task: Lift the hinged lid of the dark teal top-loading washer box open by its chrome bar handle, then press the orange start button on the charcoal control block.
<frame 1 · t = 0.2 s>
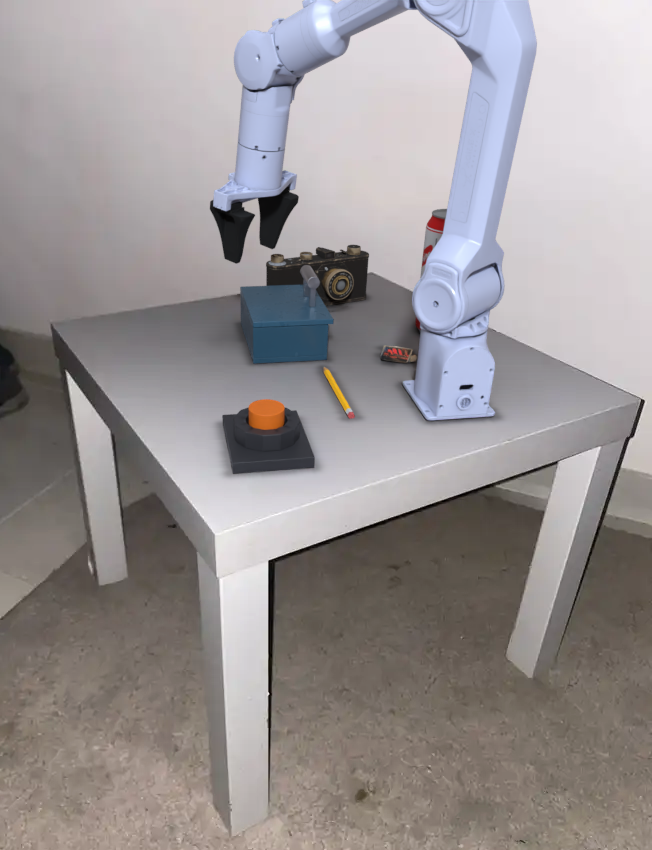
hand: (250, 253, 100), 10 cm above the table, tool pointing down, fingers open, 7 cm apart
start button: (266, 414, 77), point 3 cm above the table, slide at 0.1 cm
pencil: (336, 394, 90), on the table
matchbox: (398, 357, 99), on the table
camera: (320, 306, 115), on the table
beer can: (436, 332, 107), on the table
washer lid: (284, 289, 99), point 7 cm above the table, hinge at 0.0°
washer: (281, 341, 103), on the table
control block: (266, 445, 79), on the table
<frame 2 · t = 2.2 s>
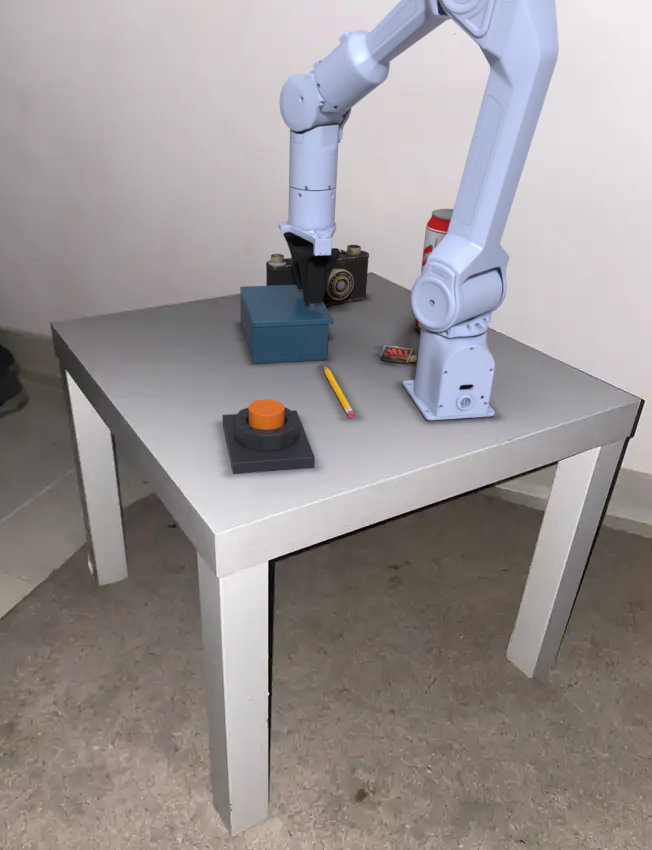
hand: (309, 295, 100), 6 cm above the table, tool pointing down, fingers closed on washer lid, 5 cm apart
washer lid: (284, 289, 99), point 7 cm above the table, hinge at 0.0°, touching gripper
everything else where it was.
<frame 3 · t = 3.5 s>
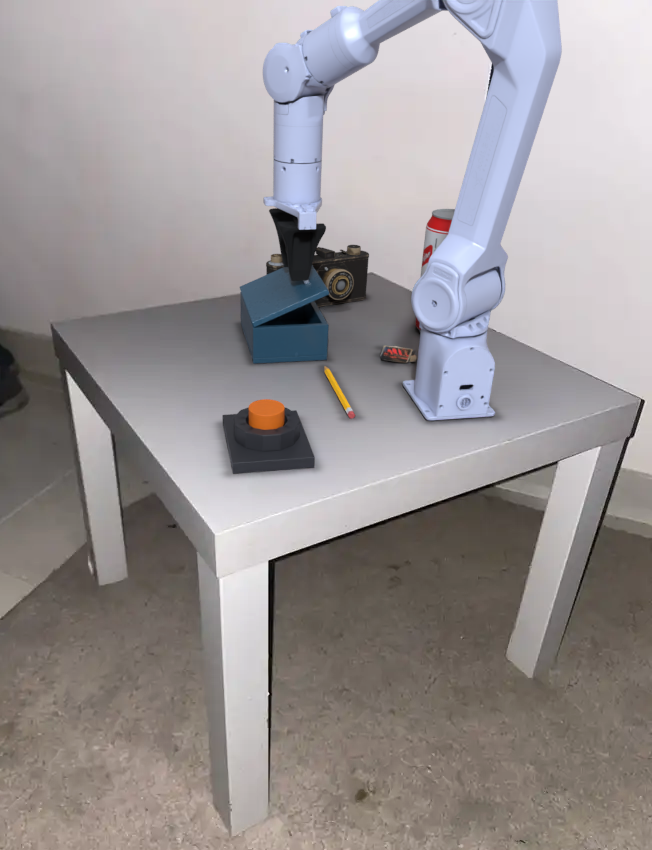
hand: (295, 272, 98), 9 cm above the table, tool pointing down, fingers closed on washer lid, 5 cm apart
washer lid: (276, 276, 98), point 9 cm above the table, hinge at 22.6°, touching gripper
everything else where it was.
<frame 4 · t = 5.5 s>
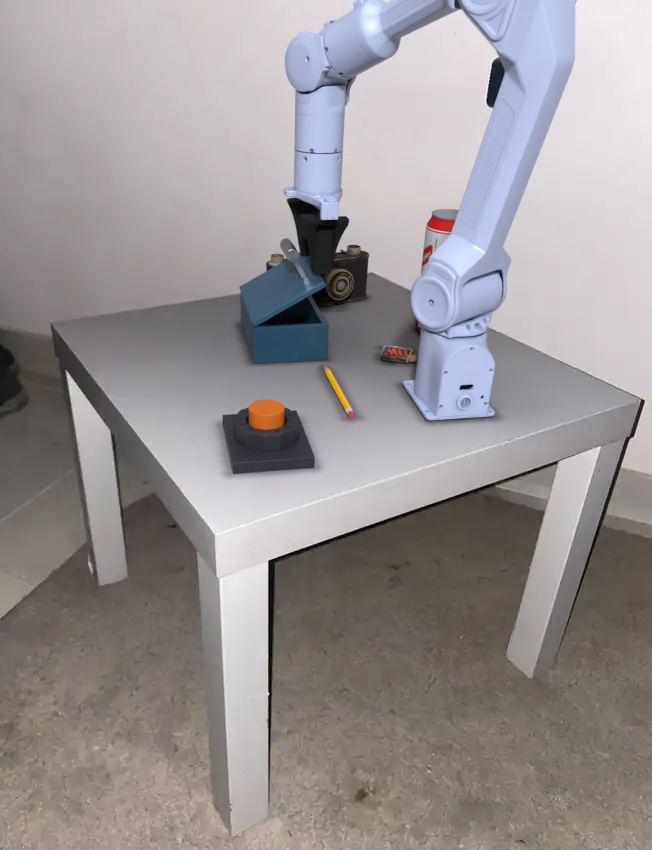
hand: (314, 264, 98), 10 cm above the table, tool pointing down, fingers open, 7 cm apart
washer lid: (272, 273, 98), point 9 cm above the table, hinge at 28.7°
everything else where it was.
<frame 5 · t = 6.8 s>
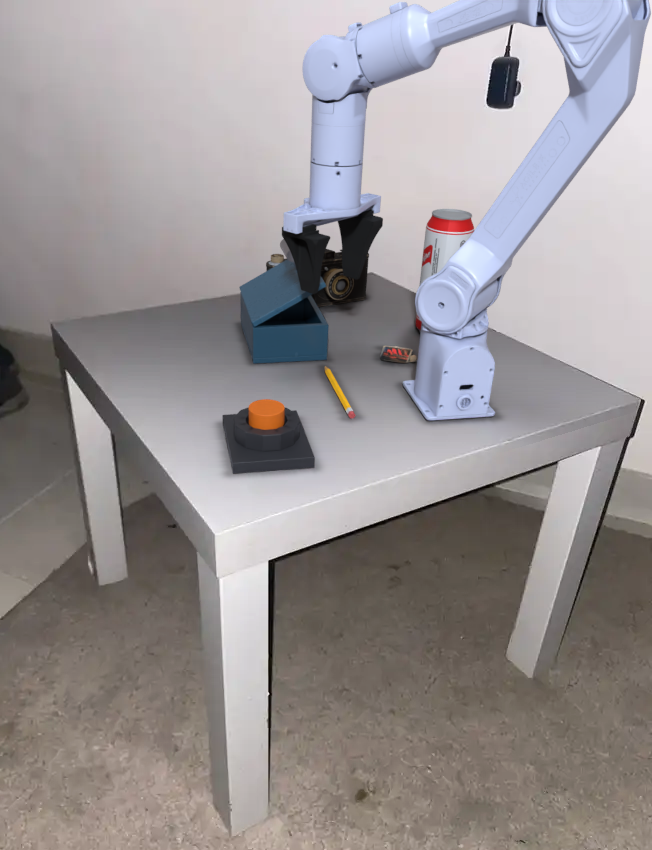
hand: (330, 284, 91), 10 cm above the table, tool pointing down, fingers open, 7 cm apart
nothing on the table moved.
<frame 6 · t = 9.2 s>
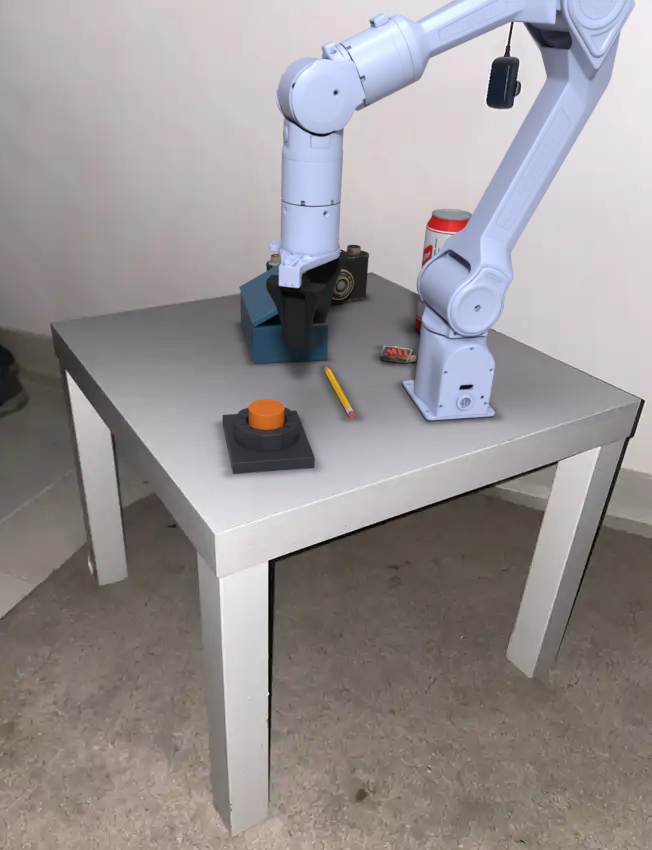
hand: (306, 333, 81), 9 cm above the table, tool pointing down, fingers open, 7 cm apart
nothing on the table moved.
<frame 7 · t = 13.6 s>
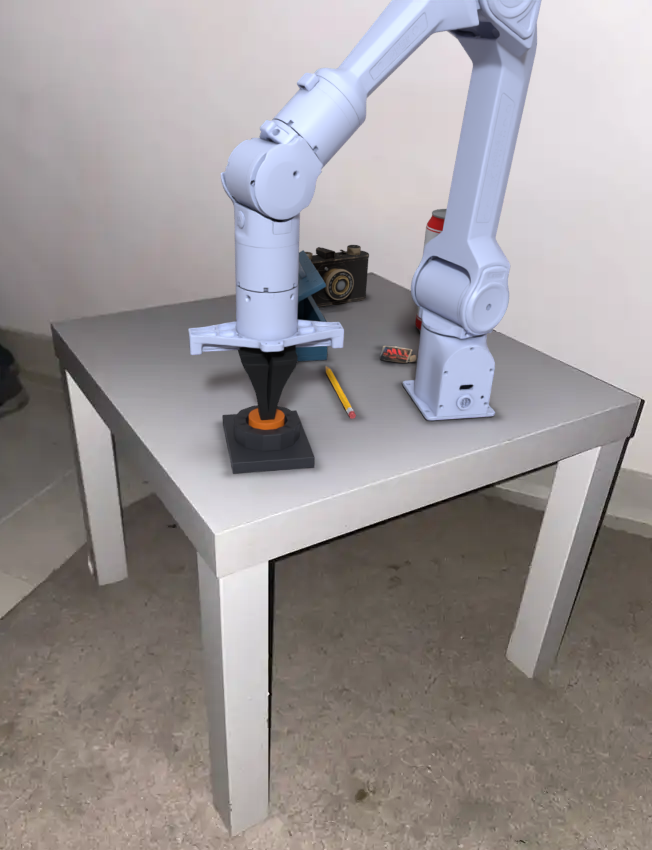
hand: (266, 415, 77), 3 cm above the table, tool pointing down, fingers closed, pressing on start button
start button: (266, 422, 78), point 3 cm above the table, slide at -0.8 cm, touching gripper
everything else where it was.
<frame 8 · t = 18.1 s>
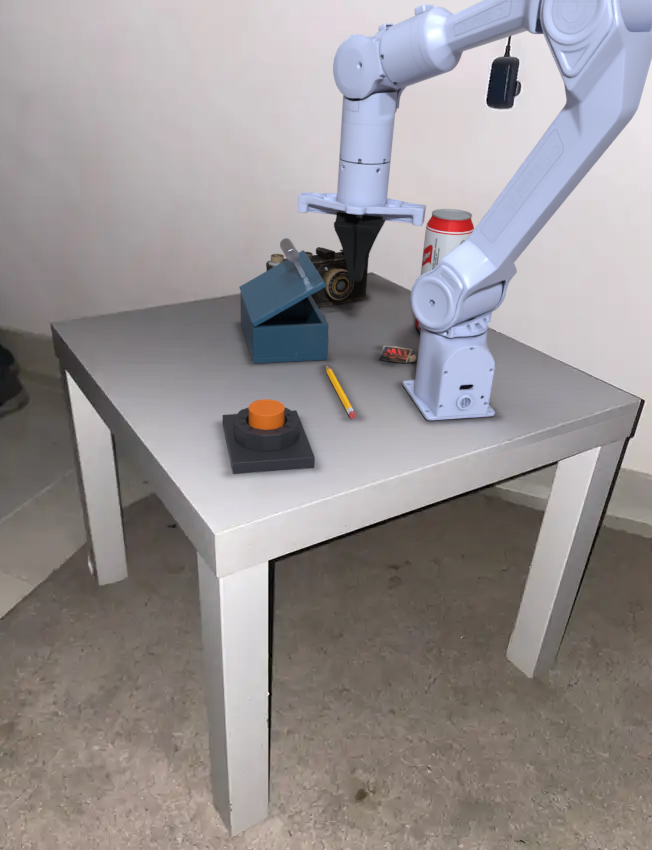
hand: (355, 278, 93), 10 cm above the table, tool pointing down, fingers closed
start button: (266, 415, 77), point 3 cm above the table, slide at 0.1 cm
everything else where it was.
at the end: washer lid at +29° (first picture: +0°); start button pushed in 1.2 cm at the most during the clip, back to where it started at the end; start button slide at 0.1 cm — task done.
